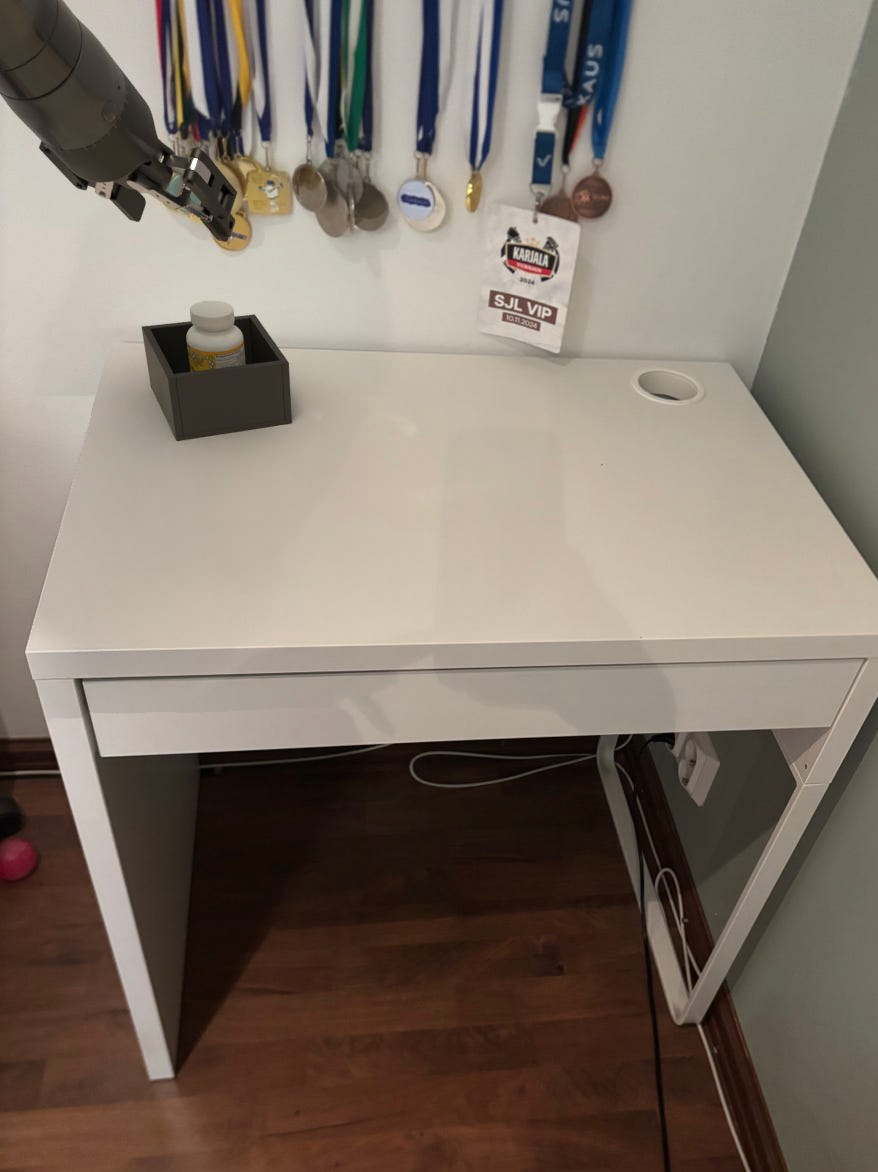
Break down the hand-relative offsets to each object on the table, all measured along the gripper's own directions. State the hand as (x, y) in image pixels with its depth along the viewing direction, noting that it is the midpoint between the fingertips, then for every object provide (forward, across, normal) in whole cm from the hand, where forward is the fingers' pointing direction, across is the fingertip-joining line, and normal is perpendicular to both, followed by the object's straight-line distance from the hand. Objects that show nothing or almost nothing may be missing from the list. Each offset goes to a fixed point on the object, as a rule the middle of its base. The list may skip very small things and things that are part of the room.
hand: (182, 221), depth 82 cm
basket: (+16, 0, +11) cm, 19 cm away
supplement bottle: (+16, 0, +11) cm, 19 cm away
